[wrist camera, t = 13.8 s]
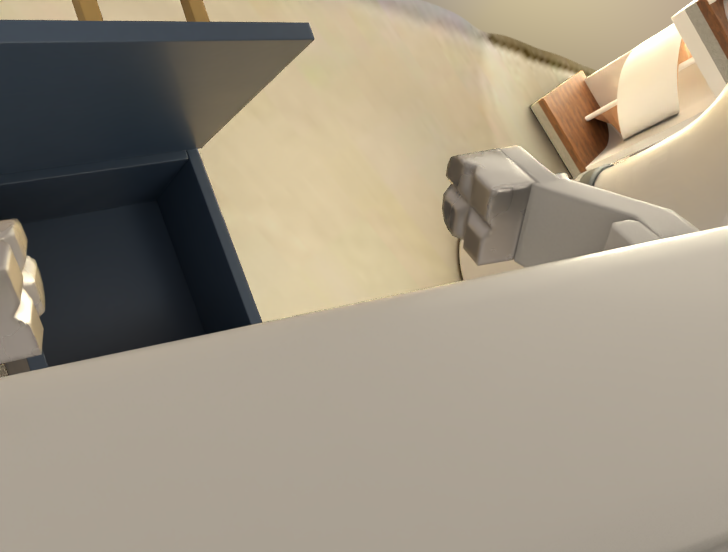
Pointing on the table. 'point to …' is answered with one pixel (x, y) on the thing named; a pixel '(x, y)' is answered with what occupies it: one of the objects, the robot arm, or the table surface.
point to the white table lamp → (640, 91)
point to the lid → (129, 83)
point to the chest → (126, 255)
